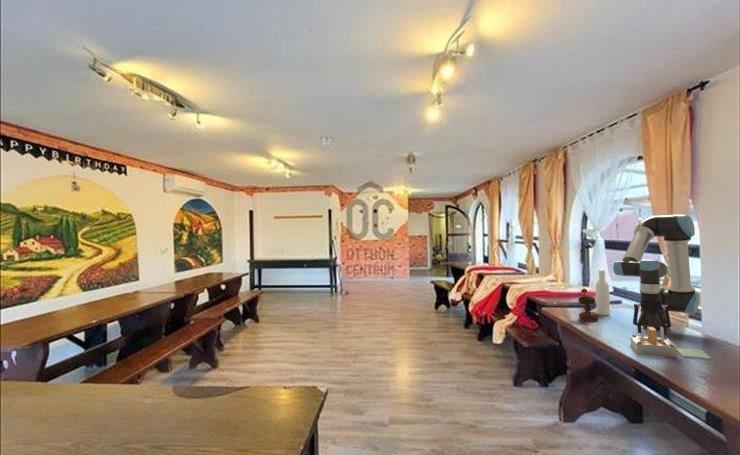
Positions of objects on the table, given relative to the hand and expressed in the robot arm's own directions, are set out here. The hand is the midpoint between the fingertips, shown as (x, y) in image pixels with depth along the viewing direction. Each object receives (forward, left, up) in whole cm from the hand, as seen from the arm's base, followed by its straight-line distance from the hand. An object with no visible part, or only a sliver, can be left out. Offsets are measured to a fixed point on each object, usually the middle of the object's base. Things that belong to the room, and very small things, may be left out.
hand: (652, 340), depth 185 cm
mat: (0, +15, -5) cm, 16 cm away
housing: (0, 0, -5) cm, 5 cm away
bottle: (-80, -12, -5) cm, 81 cm away
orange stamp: (0, 0, -5) cm, 5 cm away
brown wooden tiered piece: (-59, -22, -5) cm, 63 cm away
